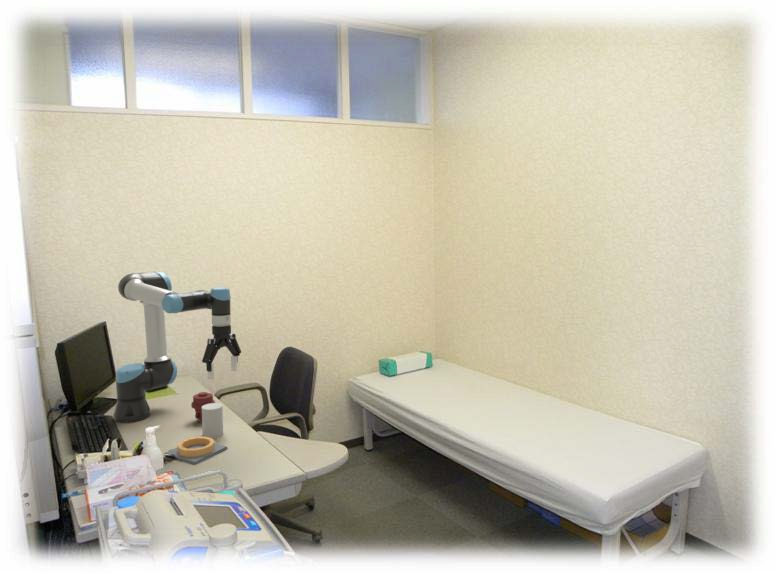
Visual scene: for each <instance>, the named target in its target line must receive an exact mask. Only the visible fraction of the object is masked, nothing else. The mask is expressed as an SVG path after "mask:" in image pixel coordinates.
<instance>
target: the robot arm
mask: <svg viewBox="0 0 775 573" xmlns="http://www.w3.org/2000/svg"><path fill="white" fill-rule="evenodd" d="M117 288H118V293H119V294H120V295H121V297H122V298H123V299H126V300H128V301H131V302H133V301H134V302H136V301H139V303H141V305H143V316H144V328H145V329H144V330H145V342H146V356H145V358H144V360H143V362H142V363H140V362H134V363H130V364H129V363H128V364H126V365H123V366H121V367H119V368H117V370H116V372H115V385H116V386H115V387H116V388H115V389H116V405H115V409H114V412H113V414H112V415H113V421H115V422H116V423H135V422H139V421H143V420H146V419H147V418H149V417H150V416H151V409H150V405H149V403H148V401H147V398H146V391H150V390H151V391H152V390H154V389H158V388H162V387H166V386H168V385H171V384H173V383H174V381H176V379H177V377H178V375H177V374H178V366H177V365H176V362H175V361H174V360H173V359H172V357H171V356H170V355H169V354H168V347H167V333H166V319H165V318H166V316H165V313H167V314H178V313H184V312H191V311H197V310H204V309H205V310H211V324H212V326H211V330H212V332H211V333H212V335H213V338H207V345H206V348H205V351H204V355H203V357H202V360H201V362H202V363H204V364H206V366H205V367H206V372H207V379H208V380H214V379H215V366H214V364H215V363H214V362H213V361H214V360H215V357H216V355H217V354H218V351H219V350H220V349H222V348H224V347H226V348H227V350H228V351H229V352H230V354H231V356H230V371H232V372H238V363H239V362H238V360H239V356H240V354H241V353H242V350H241V348H240V347H241V346H239V343H238V341H237V337H236V335H237V334H235V333H232V325H231V323H232V322H231V318H232V317H231V316H232V315H231V292H230V290H231V289H230V288H229V287H223V286H219V287H218V286H216V287H212V288H211V289H210V291H209V290H205V289H202V290H201V289H200V290H199V289H198V290H195V291H190V292H182V293H181V292H176V291H172V282H171V278H170V277H169V276H168V274H166V273H165V272H163V271H147V272H133V273H130V274H126V275H124V276H123V277H122V278H120V280H119V282H118V286H117Z"/></svg>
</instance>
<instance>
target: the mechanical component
mask: <svg viewBox="0 0 775 573" xmlns="http://www.w3.org/2000/svg"><path fill="white" fill-rule="evenodd" d="M210 403H216V400H214V394H213V393H211V392H207V391H201V392H198V393H196V394H194V395H193V396H192V402H191V404H190V405H191V406H190V408H192V409H194V412H195V415H194V416H195V419H197V420H198V423H202V406H203V405H206V404H210Z"/></svg>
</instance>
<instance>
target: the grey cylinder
mask: <svg viewBox="0 0 775 573" xmlns="http://www.w3.org/2000/svg"><path fill="white" fill-rule="evenodd" d="M201 423H202V424H201V425H202V426H201V431H202V437H209V438H212V439H215V438H219V437H221V436H223V435H224V416H223V404H222V403H218V402H215V403H210V404H206V405H203V406H202V422H201Z"/></svg>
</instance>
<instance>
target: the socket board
mask: <svg viewBox="0 0 775 573" xmlns="http://www.w3.org/2000/svg"><path fill="white" fill-rule="evenodd" d="M176 446H177V447H175V448H173V449H170V450H168V451H165V452H164V455H165V454H174V455H175V457H176V458H177V459H176V460H179V461H183V462H185V463H189V464H192V465H197V464H200V463H201V462H203V461H206V460H207V459H209V458H212V457H213V456H215V455H217V454H220V453H221V452H224V451H226V450H228V446H227V445H224V444H220V443H216V441H215V440H214V438H209V437H203V436H194V437H188V438H186V439H183V440H181V441H180V442H179V443H178V444H177V445H176Z"/></svg>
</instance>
